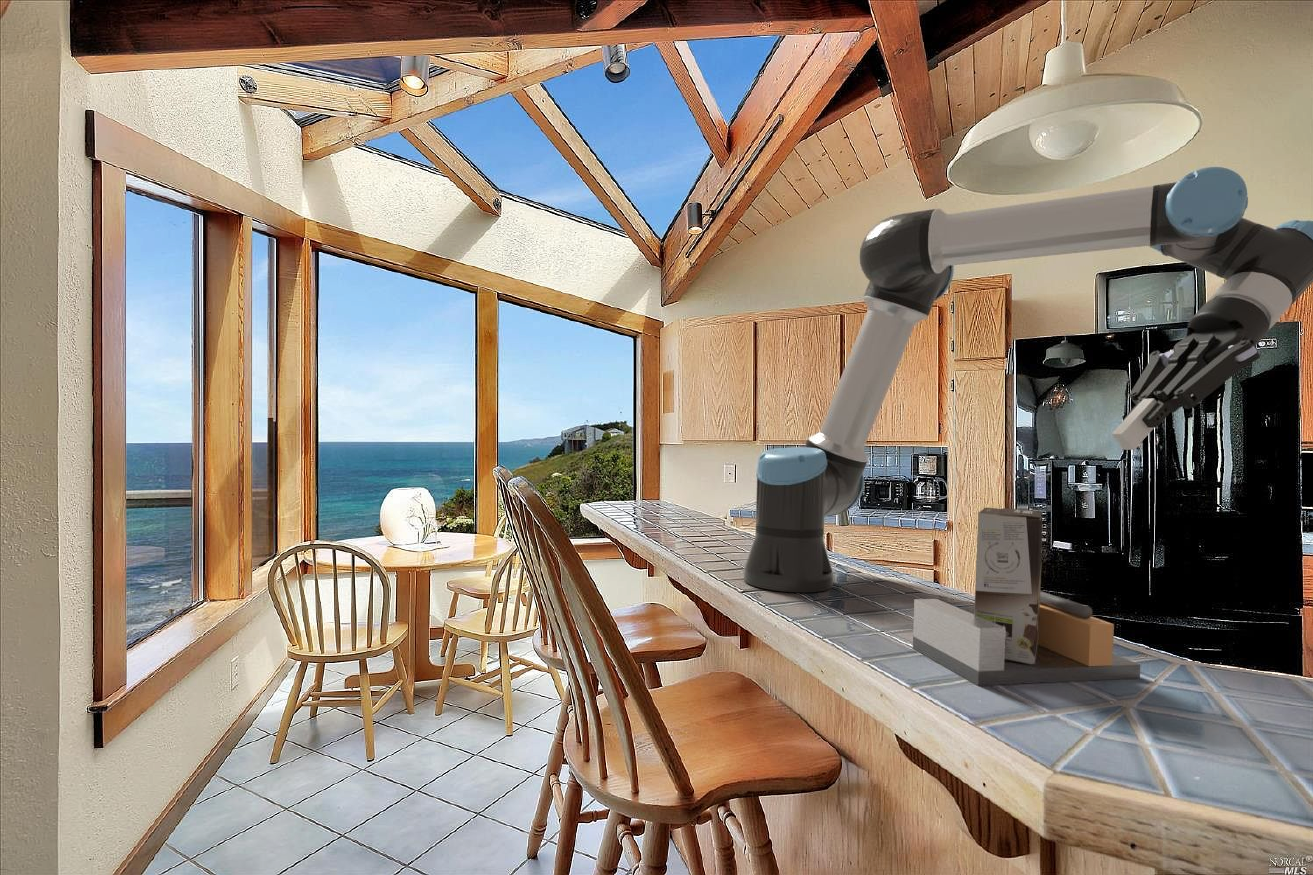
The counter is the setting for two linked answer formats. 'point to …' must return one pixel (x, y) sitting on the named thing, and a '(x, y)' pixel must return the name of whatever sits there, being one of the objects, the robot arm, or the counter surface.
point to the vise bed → (1038, 670)
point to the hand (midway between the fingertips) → (1122, 441)
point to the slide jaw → (1074, 631)
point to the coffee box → (1010, 577)
